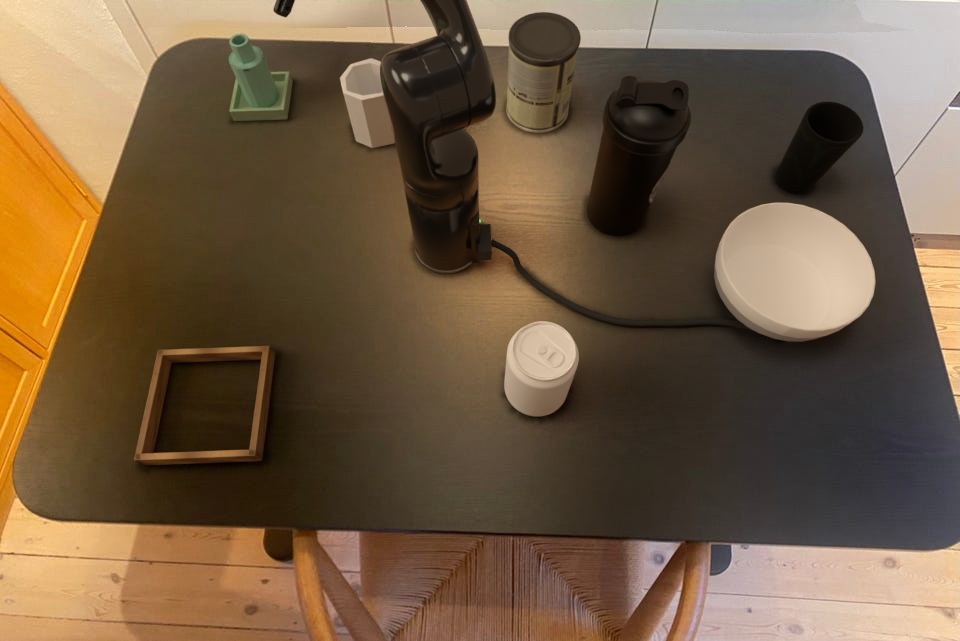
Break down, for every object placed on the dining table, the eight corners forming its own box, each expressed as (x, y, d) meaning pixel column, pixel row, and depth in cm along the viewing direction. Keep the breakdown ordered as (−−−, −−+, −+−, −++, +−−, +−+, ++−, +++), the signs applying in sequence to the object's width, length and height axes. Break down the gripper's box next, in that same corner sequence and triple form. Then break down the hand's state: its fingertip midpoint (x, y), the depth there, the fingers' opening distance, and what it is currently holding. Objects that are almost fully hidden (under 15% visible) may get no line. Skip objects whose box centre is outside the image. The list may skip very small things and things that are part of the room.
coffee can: (506, 86, 101) (509, 10, 89) (567, 88, 101) (579, 12, 88) (504, 133, 97) (507, 59, 84) (569, 134, 96) (582, 61, 84)
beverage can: (529, 347, 80) (536, 304, 69) (579, 383, 78) (595, 345, 67) (491, 391, 77) (492, 354, 66) (541, 431, 75) (551, 398, 64)
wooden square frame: (275, 353, 80) (269, 345, 77) (262, 461, 73) (255, 455, 71) (167, 357, 79) (157, 349, 77) (144, 465, 73) (133, 460, 71)
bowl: (842, 258, 86) (878, 222, 78) (834, 377, 78) (874, 349, 70) (708, 225, 88) (730, 187, 81) (688, 336, 80) (710, 306, 73)
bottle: (279, 106, 99) (256, 49, 89) (246, 111, 98) (220, 54, 88) (278, 84, 101) (256, 26, 91) (246, 88, 100) (221, 30, 91)
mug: (347, 146, 96) (334, 98, 87) (357, 106, 99) (345, 56, 91) (423, 151, 95) (417, 103, 86) (429, 111, 99) (424, 61, 90)
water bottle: (647, 246, 87) (698, 129, 66) (576, 234, 88) (605, 116, 67) (652, 191, 91) (702, 65, 71) (585, 180, 92) (614, 53, 72)
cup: (829, 191, 91) (875, 133, 80) (786, 206, 90) (828, 150, 79) (799, 154, 94) (840, 94, 84) (757, 168, 93) (793, 109, 82)
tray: (292, 81, 102) (289, 71, 100) (287, 119, 98) (283, 109, 96) (241, 82, 102) (236, 72, 100) (233, 121, 98) (228, 111, 96)
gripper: (246, -150, 81) (210, -28, 87) (315, -110, 77) (271, 16, 83) (289, -123, 87) (252, -11, 94) (354, -84, 83) (311, 31, 89)
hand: (261, 2), depth 88 cm, fingers open, 8 cm apart
